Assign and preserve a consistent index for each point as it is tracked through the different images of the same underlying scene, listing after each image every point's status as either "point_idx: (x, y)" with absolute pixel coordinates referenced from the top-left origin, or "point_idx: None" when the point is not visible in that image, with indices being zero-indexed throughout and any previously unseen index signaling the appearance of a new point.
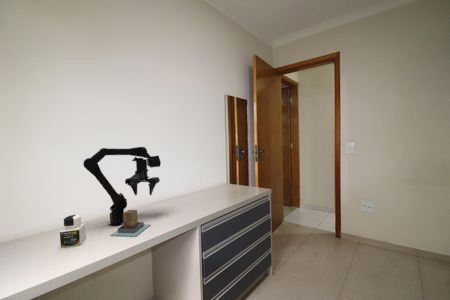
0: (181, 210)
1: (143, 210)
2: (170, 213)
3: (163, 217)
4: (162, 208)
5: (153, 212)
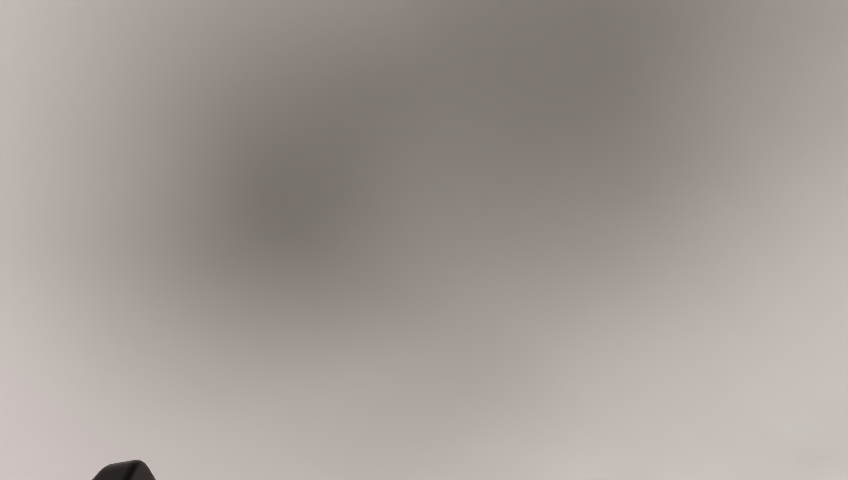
0: (28, 462)
1: (701, 326)
2: (85, 327)
3: (25, 138)
4: (420, 457)
5: (443, 295)
